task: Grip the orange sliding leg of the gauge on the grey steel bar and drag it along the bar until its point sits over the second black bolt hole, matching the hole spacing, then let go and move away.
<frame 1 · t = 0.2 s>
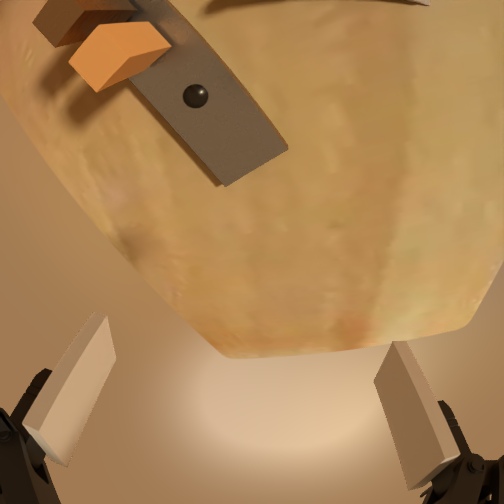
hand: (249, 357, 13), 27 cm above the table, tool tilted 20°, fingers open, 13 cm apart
slide leg: (126, 50, 21), point 7 cm above the table, slide at 0.0 cm
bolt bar: (176, 68, 28), on the table
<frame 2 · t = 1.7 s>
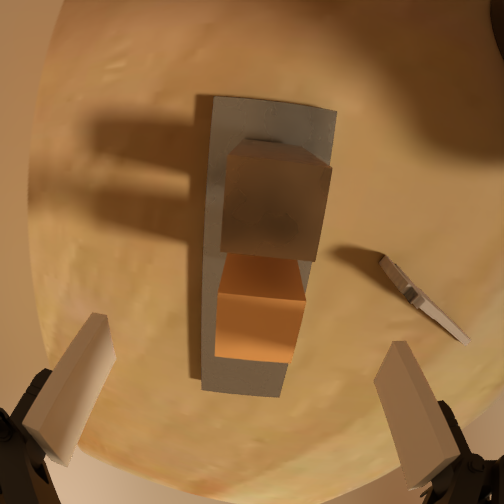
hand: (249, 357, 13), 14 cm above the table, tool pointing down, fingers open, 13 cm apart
caliper: (432, 305, 29), on the table
slide leg: (258, 277, 19), point 7 cm above the table, slide at 0.0 cm
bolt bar: (254, 276, 28), on the table
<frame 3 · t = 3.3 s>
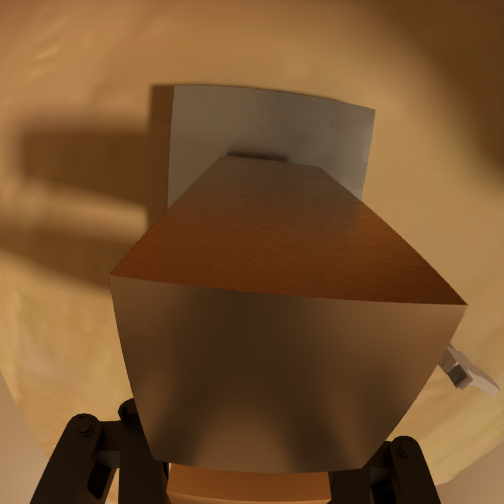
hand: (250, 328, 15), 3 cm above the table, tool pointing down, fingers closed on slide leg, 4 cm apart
caliper: (466, 359, 21), on the table
slide leg: (248, 393, 11), point 7 cm above the table, slide at 0.0 cm, touching gripper
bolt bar: (245, 346, 19), on the table
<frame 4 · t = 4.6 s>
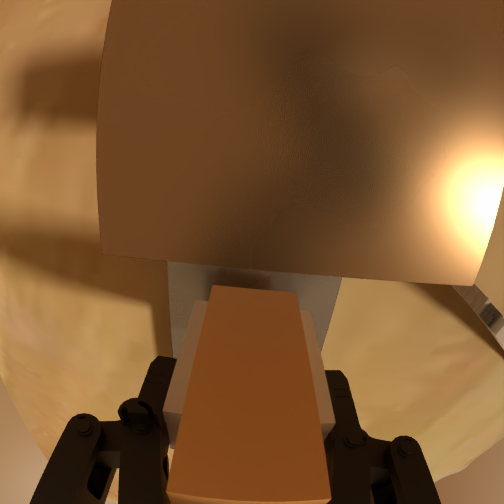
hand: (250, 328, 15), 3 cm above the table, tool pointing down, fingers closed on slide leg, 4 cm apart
caliper: (487, 320, 19), on the table
slide leg: (248, 393, 11), point 7 cm above the table, slide at 4.2 cm, touching gripper
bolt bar: (251, 291, 18), on the table
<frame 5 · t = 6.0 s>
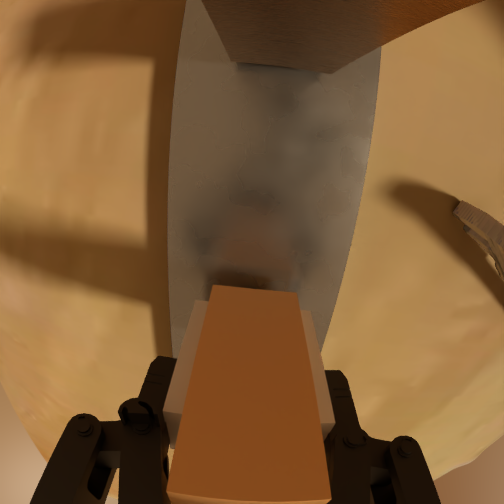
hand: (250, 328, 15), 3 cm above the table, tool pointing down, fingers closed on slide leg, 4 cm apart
slide leg: (248, 393, 11), point 7 cm above the table, slide at 8.0 cm, touching gripper
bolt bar: (259, 230, 16), on the table
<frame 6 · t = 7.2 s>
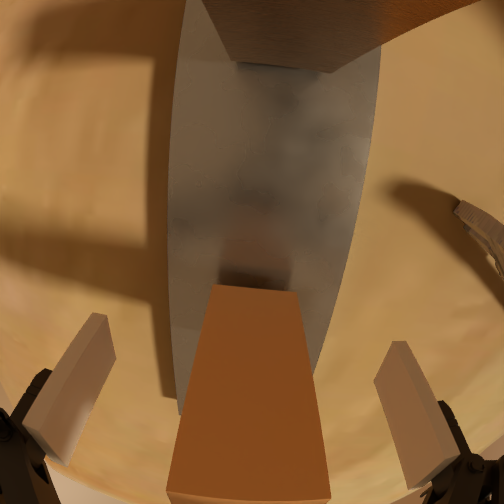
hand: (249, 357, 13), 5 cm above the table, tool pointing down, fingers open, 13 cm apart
slide leg: (248, 392, 11), point 7 cm above the table, slide at 8.0 cm
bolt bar: (259, 230, 16), on the table
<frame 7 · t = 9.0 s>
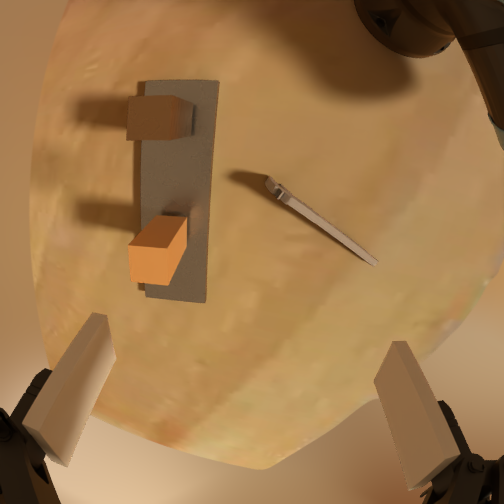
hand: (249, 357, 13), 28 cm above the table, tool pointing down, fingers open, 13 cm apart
caliper: (326, 222, 41), on the table
slide leg: (161, 245, 33), point 7 cm above the table, slide at 8.0 cm
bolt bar: (176, 195, 39), on the table
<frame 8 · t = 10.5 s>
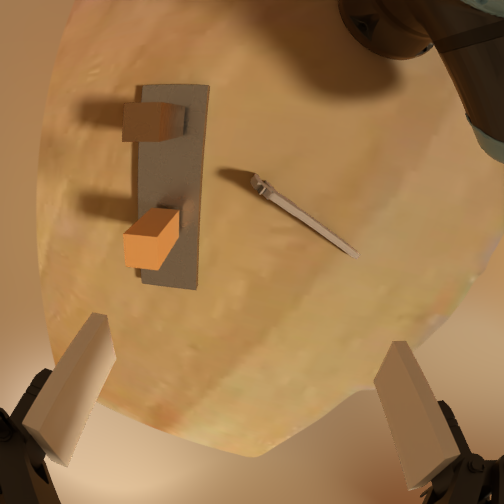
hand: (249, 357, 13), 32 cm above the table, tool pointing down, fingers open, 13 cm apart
caliper: (309, 217, 44), on the table
slide leg: (154, 234, 37), point 7 cm above the table, slide at 8.0 cm
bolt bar: (170, 190, 42), on the table
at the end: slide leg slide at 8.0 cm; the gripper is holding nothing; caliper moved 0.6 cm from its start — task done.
